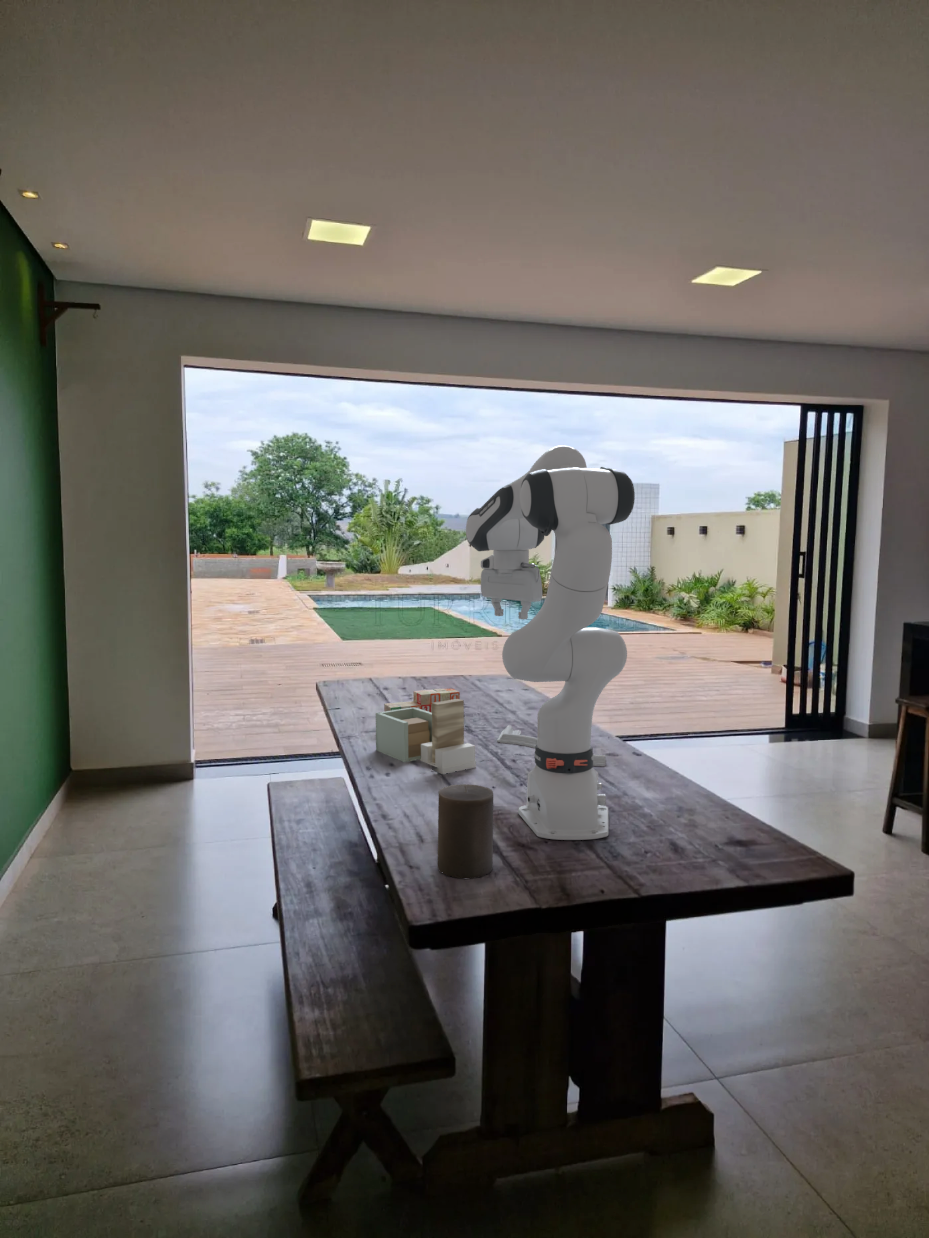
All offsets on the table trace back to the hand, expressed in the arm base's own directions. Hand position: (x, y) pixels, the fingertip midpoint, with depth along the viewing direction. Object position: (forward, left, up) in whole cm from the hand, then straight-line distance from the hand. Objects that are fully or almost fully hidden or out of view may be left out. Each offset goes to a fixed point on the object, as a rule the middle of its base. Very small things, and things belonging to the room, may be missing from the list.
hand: (510, 617), depth 205 cm
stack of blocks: (+31, +23, -38) cm, 54 cm away
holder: (-3, +16, -37) cm, 40 cm away
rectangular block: (-3, +16, -36) cm, 39 cm away
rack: (+6, +26, -37) cm, 46 cm away
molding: (+13, -12, -38) cm, 42 cm away
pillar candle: (-65, +13, -37) cm, 76 cm away
